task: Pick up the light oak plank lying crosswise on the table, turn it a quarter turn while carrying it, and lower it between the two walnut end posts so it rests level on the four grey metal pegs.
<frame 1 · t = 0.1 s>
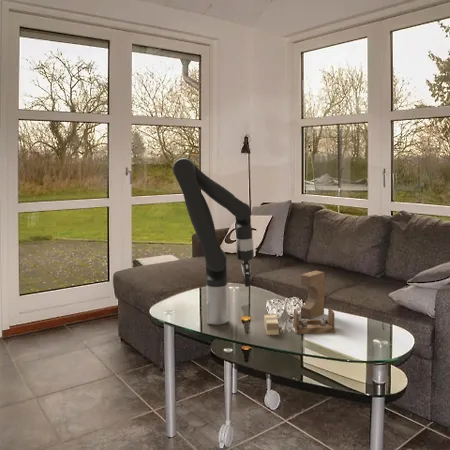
hand: (246, 283, 228), 17 cm above the table, tool pointing down, fingers open, 8 cm apart
decorative block: (312, 315, 236), on the table
peg frame: (313, 329, 219), on the table
plank: (271, 330, 219), on the table
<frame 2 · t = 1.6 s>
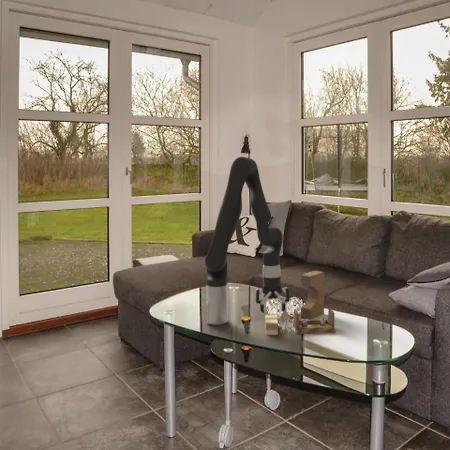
hand: (272, 311, 219), 8 cm above the table, tool pointing down, fingers open, 8 cm apart
nothing on the table moved.
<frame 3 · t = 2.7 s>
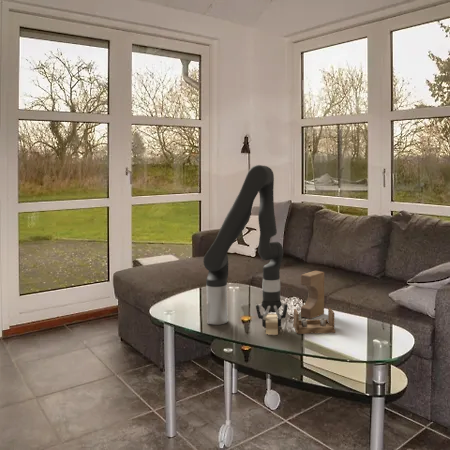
hand: (271, 327, 219), 1 cm above the table, tool pointing down, fingers closed on plank, 5 cm apart
plank: (271, 329, 219), on the table, touching gripper
everything else where it was.
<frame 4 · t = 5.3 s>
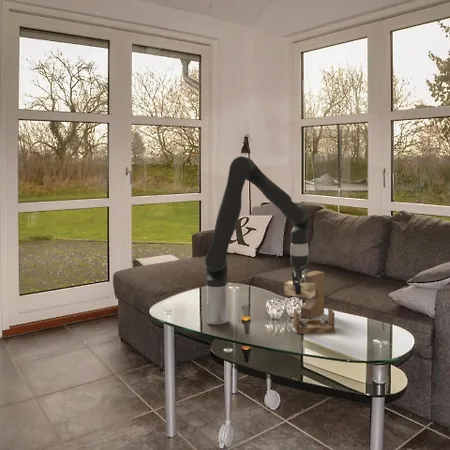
hand: (300, 292, 217), 16 cm above the table, tool pointing down, fingers closed on plank, 5 cm apart
plank: (299, 294, 217), point 15 cm above the table, touching gripper
everything else where it was.
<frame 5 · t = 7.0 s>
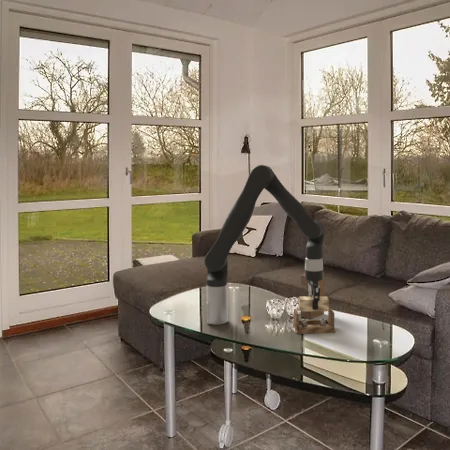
hand: (313, 307, 217), 10 cm above the table, tool pointing down, fingers closed on plank, 5 cm apart
plank: (313, 309, 217), point 9 cm above the table, touching gripper
everything else where it was.
when the fingers open (6 cm above the table, at t = 8.1 s): plank stays where it is, resting on peg frame.
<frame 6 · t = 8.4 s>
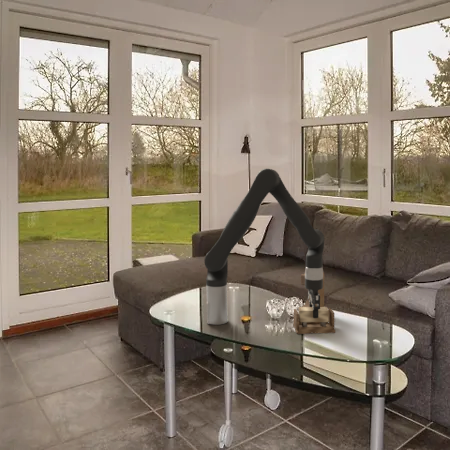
hand: (313, 314, 218), 6 cm above the table, tool pointing down, fingers open, 7 cm apart
plank: (313, 320, 218), point 4 cm above the table, touching peg frame
everything else where it was.
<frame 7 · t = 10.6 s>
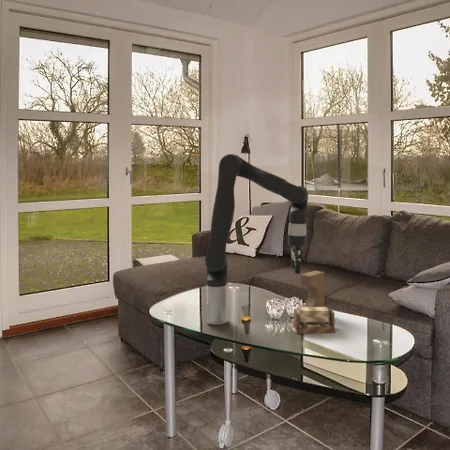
hand: (295, 271, 218), 25 cm above the table, tool pointing down, fingers open, 8 cm apart
nothing on the table moved.
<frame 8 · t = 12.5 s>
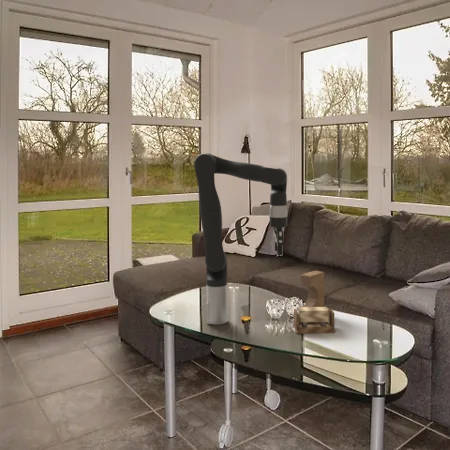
hand: (278, 252, 220), 32 cm above the table, tool pointing down, fingers open, 8 cm apart
nothing on the table moved.
at the end: plank 0.2 cm off-centre on the peg frame, point 4.0 cm above the peg frame's base; plank tilted 0°; the gripper is holding nothing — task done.
